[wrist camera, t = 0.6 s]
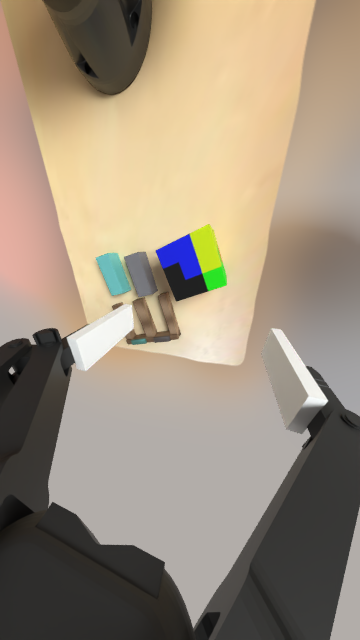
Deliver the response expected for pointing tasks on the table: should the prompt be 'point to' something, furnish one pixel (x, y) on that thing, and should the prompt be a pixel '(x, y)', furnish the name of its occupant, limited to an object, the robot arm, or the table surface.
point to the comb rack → (148, 323)
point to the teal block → (113, 273)
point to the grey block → (141, 273)
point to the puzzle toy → (193, 264)
